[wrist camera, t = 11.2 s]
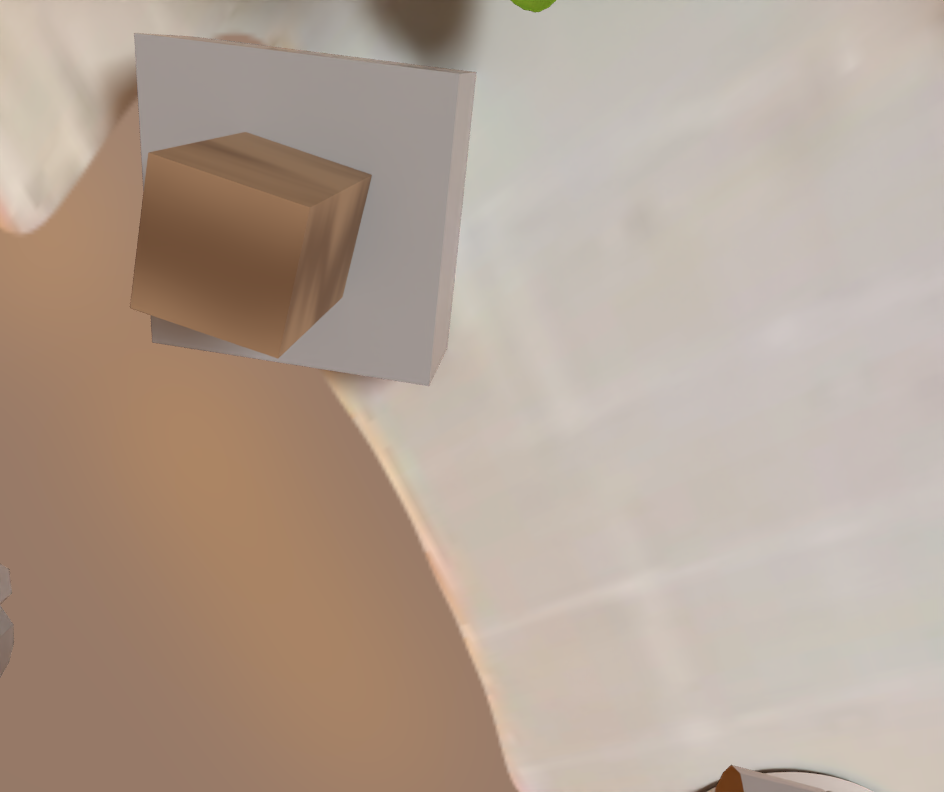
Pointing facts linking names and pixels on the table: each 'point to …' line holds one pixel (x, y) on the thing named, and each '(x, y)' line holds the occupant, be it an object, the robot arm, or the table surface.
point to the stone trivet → (348, 143)
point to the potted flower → (533, 4)
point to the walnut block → (245, 239)
